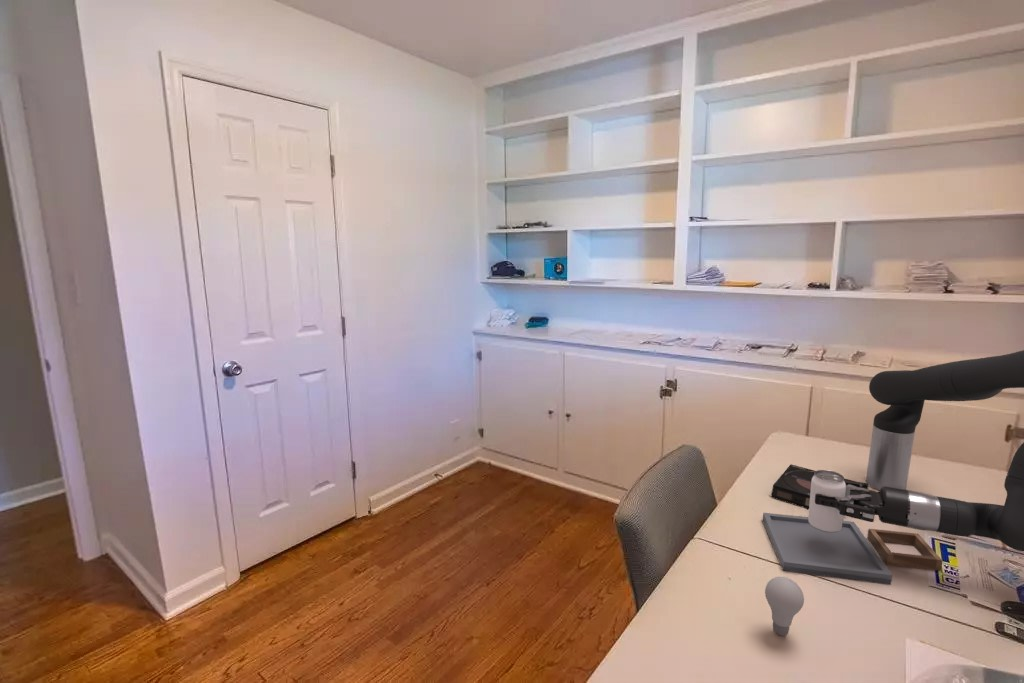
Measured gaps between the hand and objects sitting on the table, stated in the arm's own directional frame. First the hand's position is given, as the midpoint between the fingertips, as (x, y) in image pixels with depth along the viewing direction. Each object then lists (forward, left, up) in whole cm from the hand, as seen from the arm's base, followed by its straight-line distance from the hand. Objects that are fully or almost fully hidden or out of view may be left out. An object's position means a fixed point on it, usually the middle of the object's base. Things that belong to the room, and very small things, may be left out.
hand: (815, 491), depth 115 cm
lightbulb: (+29, -13, -14) cm, 35 cm away
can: (+1, +2, -8) cm, 8 cm away
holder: (-2, +19, -14) cm, 24 cm away
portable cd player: (-26, +8, -14) cm, 30 cm away
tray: (0, +2, -14) cm, 14 cm away
